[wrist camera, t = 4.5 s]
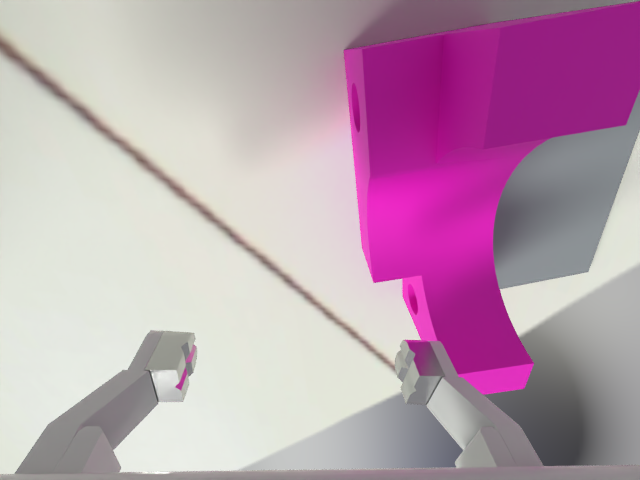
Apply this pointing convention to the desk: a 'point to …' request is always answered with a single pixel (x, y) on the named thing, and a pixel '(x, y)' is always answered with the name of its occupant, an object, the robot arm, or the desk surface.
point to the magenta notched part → (473, 158)
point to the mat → (560, 204)
